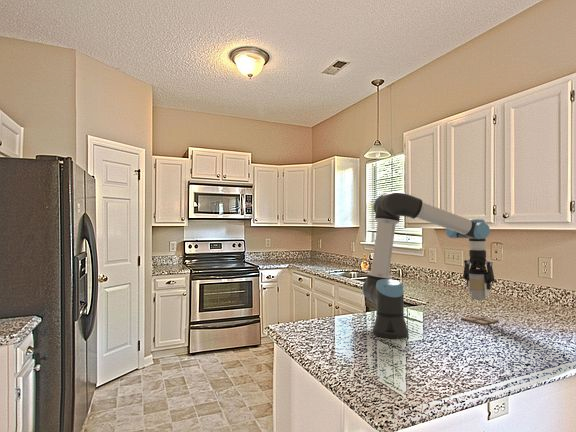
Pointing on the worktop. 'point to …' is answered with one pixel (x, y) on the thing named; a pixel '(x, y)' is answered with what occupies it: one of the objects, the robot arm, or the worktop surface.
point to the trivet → (480, 320)
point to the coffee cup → (477, 283)
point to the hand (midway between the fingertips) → (478, 294)
